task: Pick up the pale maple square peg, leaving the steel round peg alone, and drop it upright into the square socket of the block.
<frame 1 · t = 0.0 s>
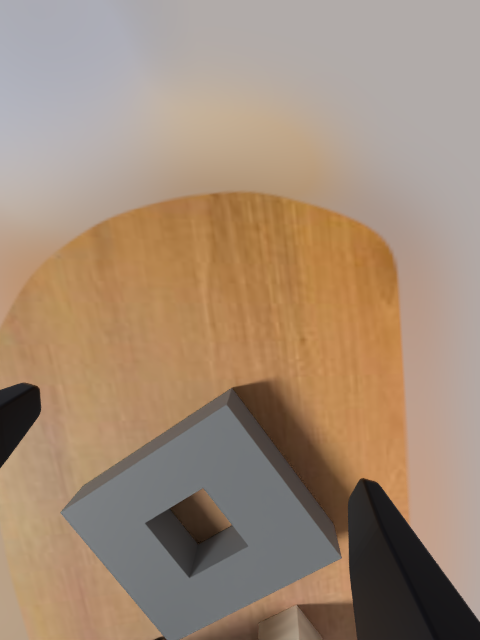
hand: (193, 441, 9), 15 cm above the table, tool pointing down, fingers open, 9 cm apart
square peg: (290, 630, 28), on the table
socket block: (204, 504, 27), on the table
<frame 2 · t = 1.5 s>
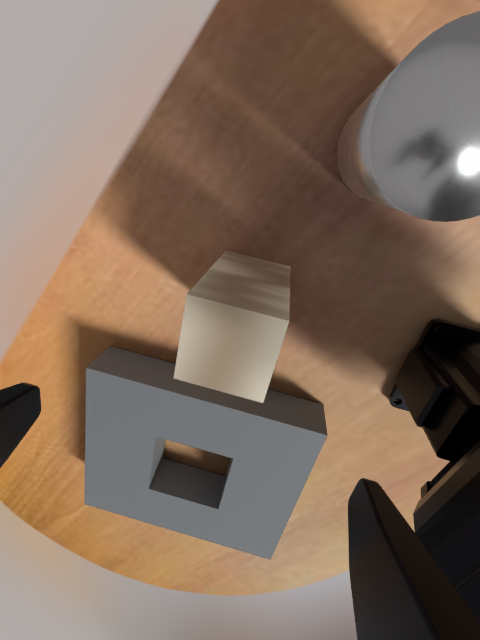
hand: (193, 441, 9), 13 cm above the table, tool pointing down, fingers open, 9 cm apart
square peg: (250, 288, 20), on the table
socket block: (199, 443, 26), on the table
steel round peg: (388, 148, 16), on the table
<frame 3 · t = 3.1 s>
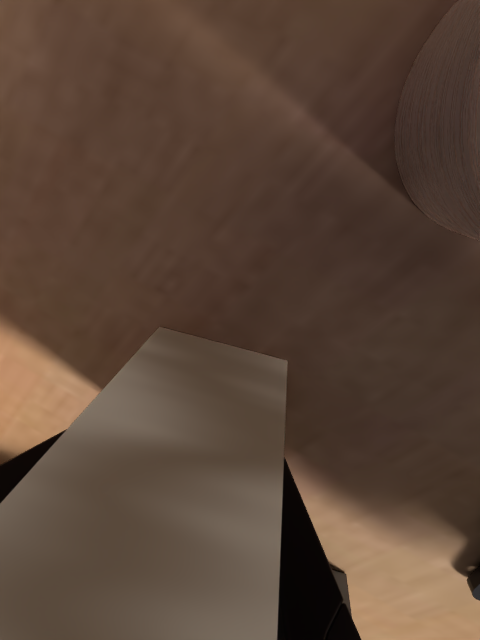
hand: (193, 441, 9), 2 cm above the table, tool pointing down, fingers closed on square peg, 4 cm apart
square peg: (211, 395, 11), on the table, touching gripper
socket block: (145, 601, 17), on the table
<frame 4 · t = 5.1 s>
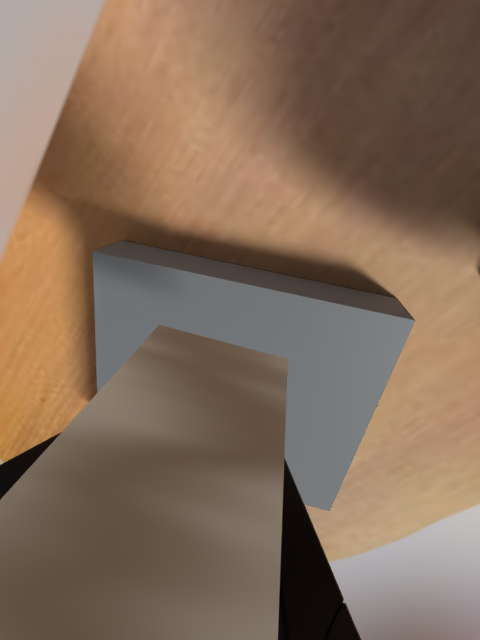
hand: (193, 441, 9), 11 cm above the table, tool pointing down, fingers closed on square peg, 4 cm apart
square peg: (211, 393, 11), point 9 cm above the table, touching gripper
socket block: (235, 369, 21), on the table
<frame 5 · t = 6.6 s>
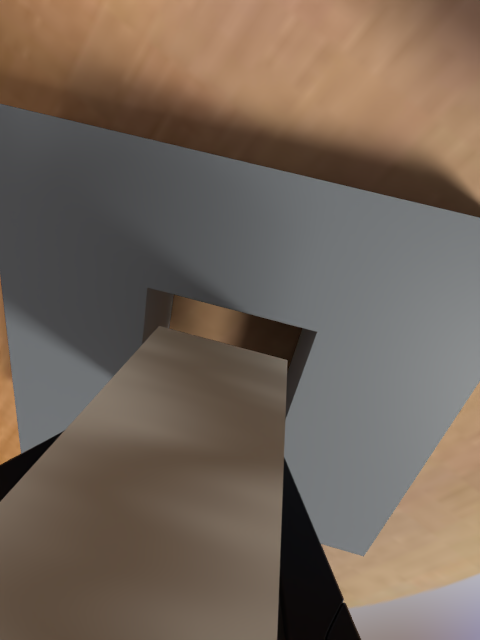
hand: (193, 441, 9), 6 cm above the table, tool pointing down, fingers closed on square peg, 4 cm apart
square peg: (211, 394, 11), point 4 cm above the table, touching gripper
socket block: (230, 340, 14), on the table
when the fingers open (4 cm above the table, at t = 7.4 s): square peg drops 2 cm, resting in socket block.
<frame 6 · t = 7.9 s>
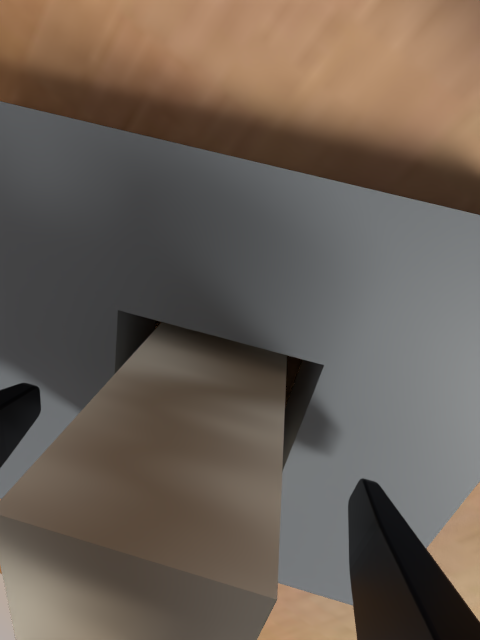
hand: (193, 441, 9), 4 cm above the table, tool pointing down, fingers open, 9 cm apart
square peg: (223, 362, 12), resting in socket block
socket block: (222, 364, 12), on the table
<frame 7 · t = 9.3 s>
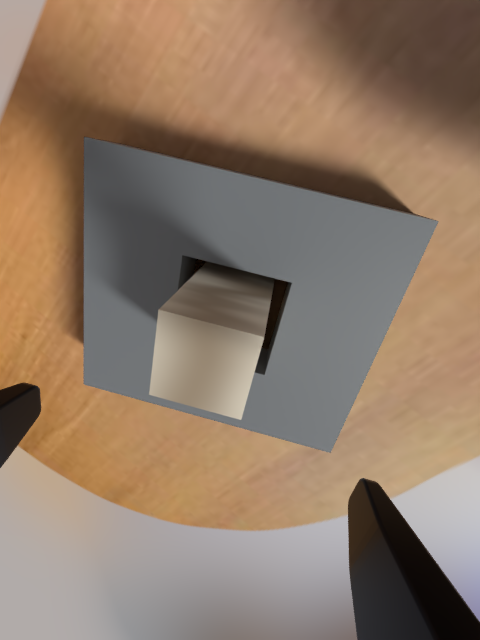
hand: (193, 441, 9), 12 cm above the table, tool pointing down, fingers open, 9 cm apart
square peg: (235, 298, 20), resting in socket block
socket block: (235, 299, 20), on the table
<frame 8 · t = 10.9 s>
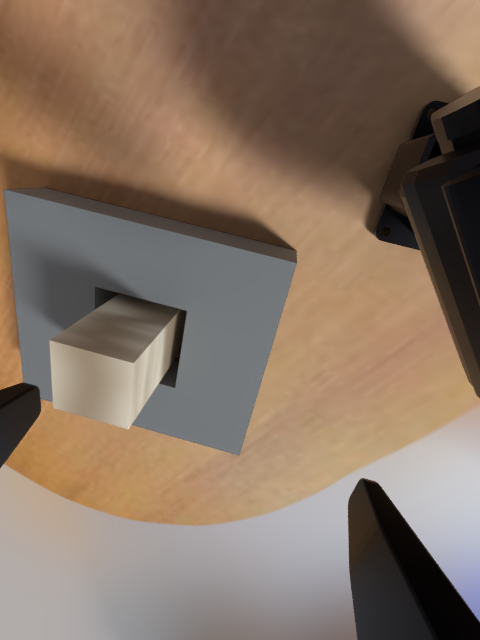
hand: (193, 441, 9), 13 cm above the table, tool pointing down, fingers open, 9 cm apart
square peg: (156, 319, 22), resting in socket block
socket block: (156, 320, 22), on the table
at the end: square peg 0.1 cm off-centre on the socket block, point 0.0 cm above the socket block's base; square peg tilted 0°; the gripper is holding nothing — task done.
